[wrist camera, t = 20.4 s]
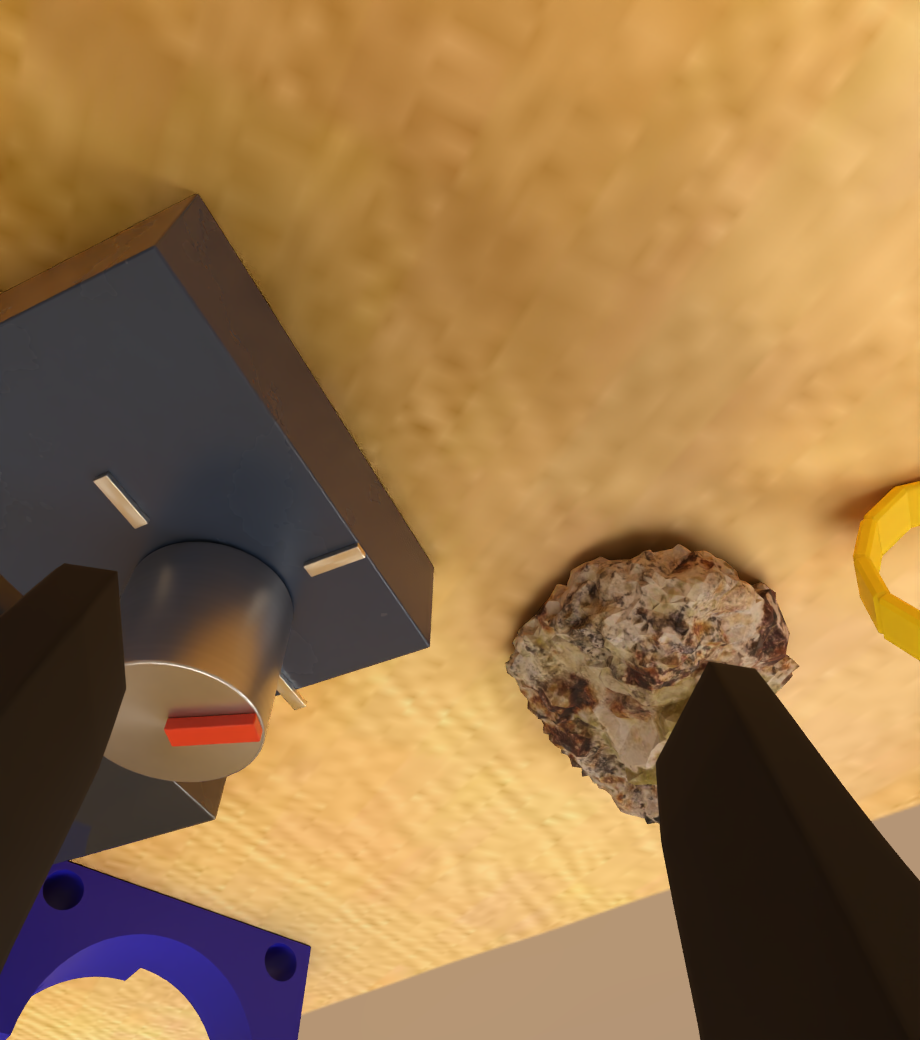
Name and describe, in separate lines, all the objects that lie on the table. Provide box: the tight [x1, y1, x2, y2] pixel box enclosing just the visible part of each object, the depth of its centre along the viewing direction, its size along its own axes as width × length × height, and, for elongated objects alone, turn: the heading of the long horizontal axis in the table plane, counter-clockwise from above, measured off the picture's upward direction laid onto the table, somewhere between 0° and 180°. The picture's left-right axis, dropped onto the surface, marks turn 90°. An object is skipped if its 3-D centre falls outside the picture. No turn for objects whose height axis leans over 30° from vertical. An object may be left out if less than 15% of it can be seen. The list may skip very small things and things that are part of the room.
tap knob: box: [103, 542, 293, 782], centre depth 18 cm, size 4×4×4 cm
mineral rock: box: [505, 544, 799, 824], centre depth 25 cm, size 11×4×8 cm
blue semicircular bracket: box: [0, 861, 311, 1040], centre depth 33 cm, size 12×4×6 cm, turn 52°
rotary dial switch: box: [0, 194, 434, 710], centre depth 20 cm, size 12×8×3 cm
